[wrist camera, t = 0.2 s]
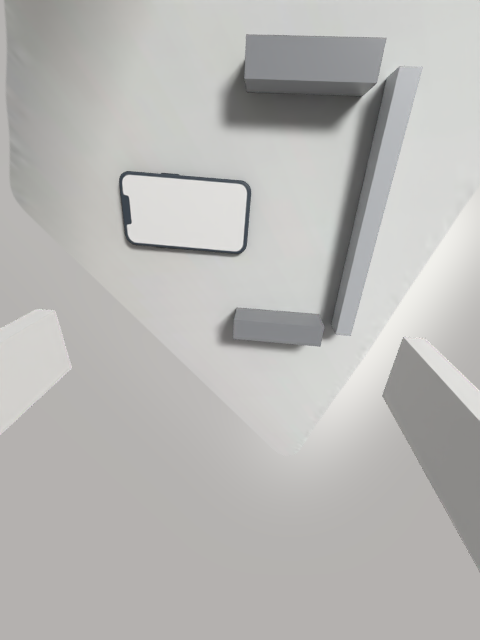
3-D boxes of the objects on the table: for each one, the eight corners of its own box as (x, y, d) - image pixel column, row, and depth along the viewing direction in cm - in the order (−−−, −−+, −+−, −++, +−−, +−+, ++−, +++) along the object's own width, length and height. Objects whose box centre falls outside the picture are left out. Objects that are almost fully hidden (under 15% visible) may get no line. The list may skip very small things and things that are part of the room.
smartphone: (252, 180, 33) (122, 169, 33) (252, 180, 32) (116, 169, 32) (246, 253, 37) (130, 242, 37) (245, 256, 36) (125, 245, 36)
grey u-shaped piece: (248, 54, 27) (246, 34, 24) (412, 58, 26) (435, 39, 23) (235, 325, 41) (233, 338, 38) (342, 334, 40) (350, 349, 37)
